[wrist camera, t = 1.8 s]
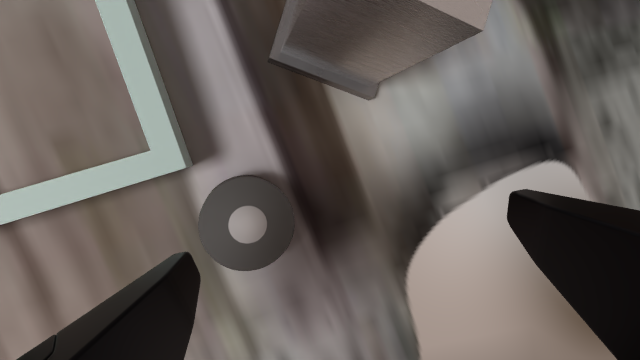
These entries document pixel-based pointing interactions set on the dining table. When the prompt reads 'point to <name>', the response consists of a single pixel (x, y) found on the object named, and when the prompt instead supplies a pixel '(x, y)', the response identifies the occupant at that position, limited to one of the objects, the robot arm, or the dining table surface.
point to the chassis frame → (151, 112)
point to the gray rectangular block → (369, 37)
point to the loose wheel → (246, 223)
